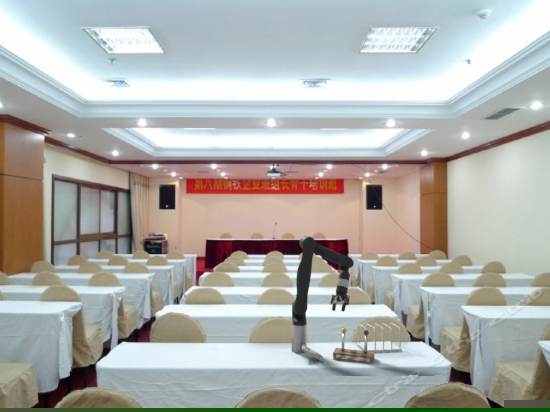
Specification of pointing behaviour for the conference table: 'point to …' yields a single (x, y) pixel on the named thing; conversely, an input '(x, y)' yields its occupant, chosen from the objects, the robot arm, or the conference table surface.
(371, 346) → the file sorter
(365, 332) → the lever black
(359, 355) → the switch panel
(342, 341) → the lever orange
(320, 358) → the light switch
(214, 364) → the conference table surface
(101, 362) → the conference table surface
